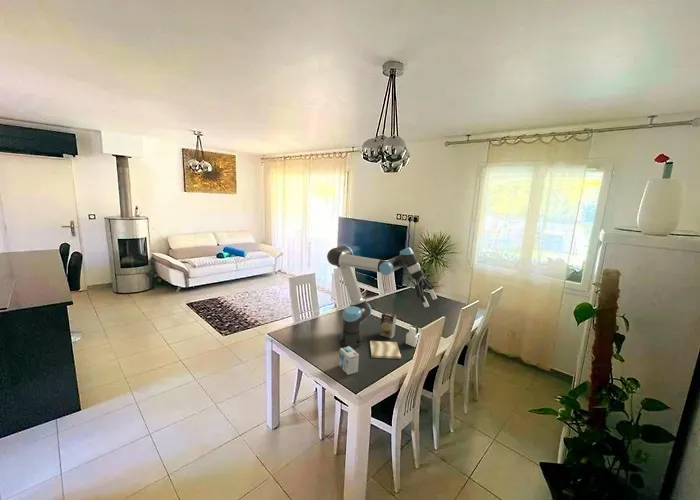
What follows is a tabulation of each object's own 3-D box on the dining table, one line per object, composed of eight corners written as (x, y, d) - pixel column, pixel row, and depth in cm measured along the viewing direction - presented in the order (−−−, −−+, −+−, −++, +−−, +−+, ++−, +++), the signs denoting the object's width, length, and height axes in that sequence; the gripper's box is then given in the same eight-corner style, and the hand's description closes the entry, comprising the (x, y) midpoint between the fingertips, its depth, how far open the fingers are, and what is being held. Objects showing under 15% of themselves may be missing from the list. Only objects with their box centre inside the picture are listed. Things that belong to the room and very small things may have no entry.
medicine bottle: (410, 339, 206) (411, 323, 204) (419, 343, 202) (421, 327, 199) (405, 343, 201) (406, 327, 198) (414, 347, 196) (416, 330, 194)
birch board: (371, 357, 182) (371, 355, 181) (369, 342, 199) (370, 340, 199) (400, 358, 182) (401, 356, 181) (396, 344, 199) (396, 342, 199)
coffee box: (379, 335, 211) (380, 313, 208) (383, 331, 216) (384, 311, 213) (391, 339, 206) (393, 317, 203) (394, 335, 211) (396, 314, 208)
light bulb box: (338, 365, 171) (339, 348, 169) (348, 362, 175) (349, 345, 173) (348, 375, 163) (349, 357, 161) (358, 372, 166) (359, 354, 164)
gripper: (412, 274, 172) (429, 308, 170) (428, 264, 191) (443, 294, 190) (402, 279, 176) (418, 311, 174) (418, 268, 196) (433, 297, 194)
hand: (431, 302), depth 182 cm, fingers open, 13 cm apart
